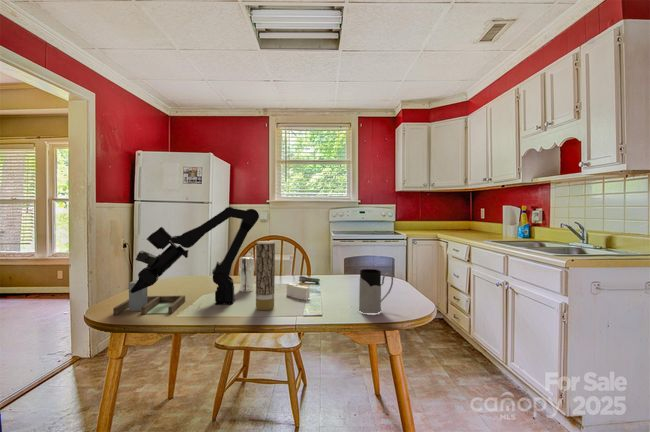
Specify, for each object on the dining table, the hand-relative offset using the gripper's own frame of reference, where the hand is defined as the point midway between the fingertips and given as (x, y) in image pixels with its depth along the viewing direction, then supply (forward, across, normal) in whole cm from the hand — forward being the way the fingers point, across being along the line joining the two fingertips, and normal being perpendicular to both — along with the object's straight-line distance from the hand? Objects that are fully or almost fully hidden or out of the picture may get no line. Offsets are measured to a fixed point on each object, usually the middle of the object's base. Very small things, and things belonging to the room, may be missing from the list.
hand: (134, 289), depth 120 cm
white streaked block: (-24, -17, +35) cm, 46 cm away
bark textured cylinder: (-27, +12, +38) cm, 48 cm away
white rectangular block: (-38, -1, +49) cm, 62 cm away
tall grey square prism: (+4, 0, +6) cm, 7 cm away
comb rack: (+1, +1, +9) cm, 9 cm away
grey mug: (-55, +26, +65) cm, 89 cm away
